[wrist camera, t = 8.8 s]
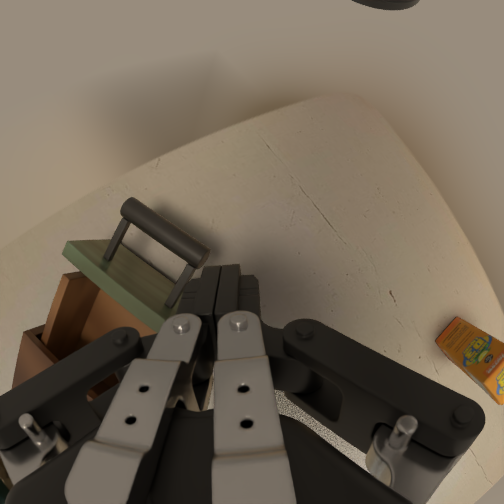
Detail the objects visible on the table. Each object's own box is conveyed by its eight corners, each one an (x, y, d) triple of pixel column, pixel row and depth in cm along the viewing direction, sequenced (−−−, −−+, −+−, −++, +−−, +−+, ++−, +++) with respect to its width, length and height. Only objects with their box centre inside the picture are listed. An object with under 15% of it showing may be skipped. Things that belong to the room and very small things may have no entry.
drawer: (140, 190, 26) (95, 178, 20) (249, 261, 25) (231, 271, 19) (67, 347, 29) (25, 367, 22) (151, 416, 27) (119, 452, 21)
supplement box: (455, 312, 24) (517, 345, 14) (473, 335, 24) (533, 373, 14) (431, 339, 24) (485, 385, 14) (449, 361, 24) (502, 410, 14)
